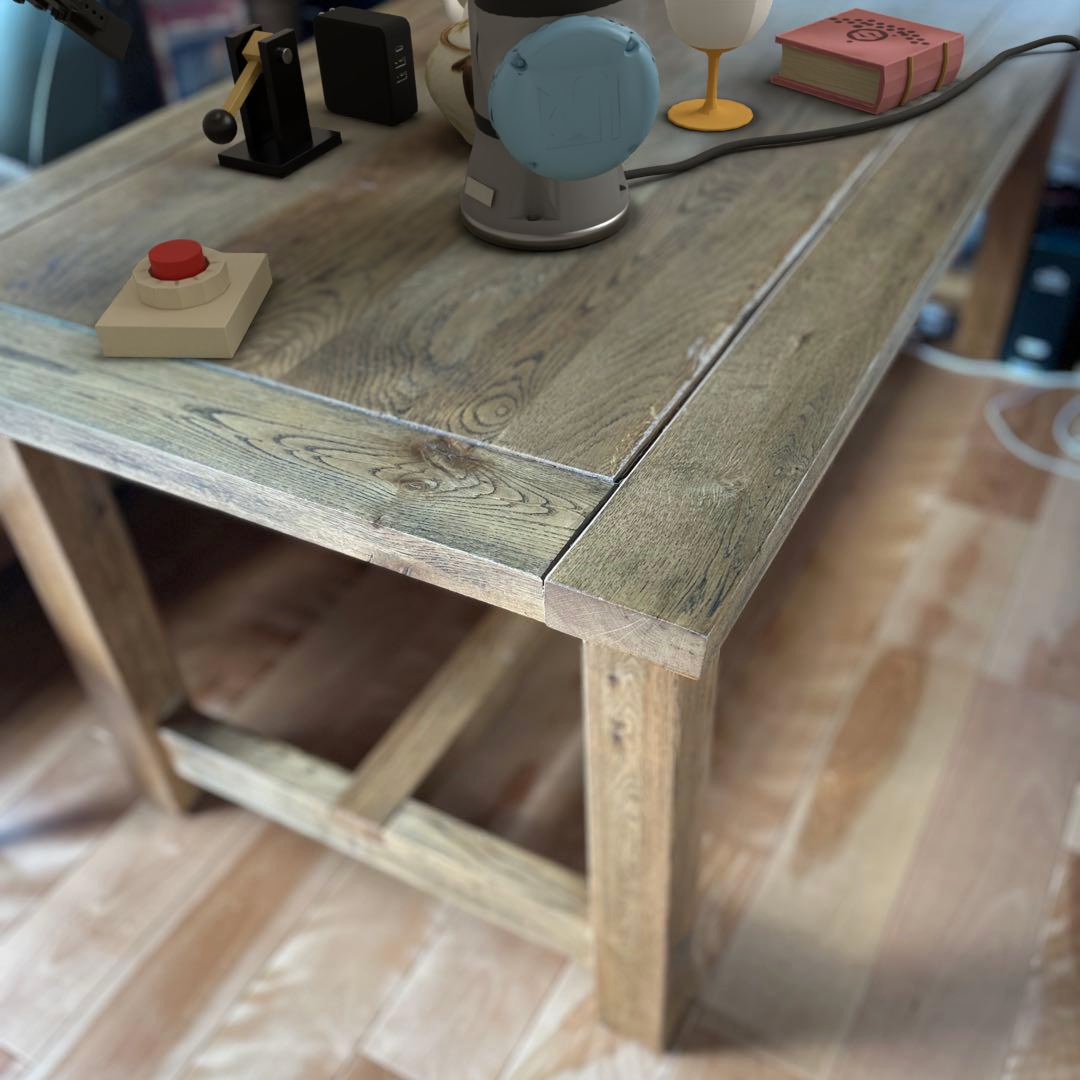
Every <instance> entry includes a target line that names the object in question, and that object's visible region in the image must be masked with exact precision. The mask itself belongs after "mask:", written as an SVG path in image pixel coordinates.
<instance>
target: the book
mask: <svg viewBox="0 0 1080 1080" xmlns="http://www.w3.org/2000/svg"><path fill="white" fill-rule="evenodd" d="M774 43H775V44H779V45H781V51H782V52H781V53H782V54H781V60H780V68H779V72H778V73H777V72H776V73H775V74H772V75H771V76H770V83H772V84H775V85H778V86H782V87H784V88H788V89H792V90H794V91H797V92H802V93H804V94H808V95H811V96H815V97H818V98H821V99H824V100H827V101H831V102H834V103H836V104H841V105H843V106H847V107H850V108H853V109H857V110H859V111H863V112H866V113H870V114H874V115H879V114H881V113H884V112H886V111H888V110H891V109H893V108H895V107H897V106H902V107H903V106H905V104H906V102H910V101H911V100H914V99H916V98H918V97H920V96H923V95H926V94H928V93H931V92H932V91H935V92H936V91H937V92H938V91H940V89H941V88H942V87H944V86H946V85H949V84H951V83H953V82H955V80H956V79H957V76H958V75H959V72H960V70H961V68H962V63H963V59H964V55H965V33H962V32H958V31H954V30H950V29H946V28H942V27H937V26H933V25H929V24H925V23H921V22H917V21H912V20H908V19H903V18H900V17H896V16H891V15H887V14H883V13H879V12H875V11H870V10H866V9H863V8H858V7H853V8H851V9H848V10H845V11H842V12H840V13H836V14H834V15H831V16H827V17H825V18H823V19H819V20H817V21H814V22H811V23H808V24H805V25H802V26H800V27H796V28H794V29H790V30H788V31H784V32H782V33H779V34H776V35H775V37H774Z"/></svg>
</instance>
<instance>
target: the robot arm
mask: <svg viewBox="0 0 1080 1080" xmlns="http://www.w3.org/2000/svg"><path fill="white" fill-rule="evenodd" d="M12 1H13V2H14V3H16V4H20V5H24V4H25V3H26V2H28V3H29V4H30V5H31V6H33V7H34V8H35V9H37V10H38V11H42V12H48V11H50V13H49V15H50V16H52V17H53V19H54V20H55V21H57V22H59V23H61V24H62V25H64V26H65V27H66V28H68V29H69V30H70V31H72V32H74V34H76V35H77V36H79V37H80V38H81V39H83V40H84V41H85V42H86V43H88V44H90V45H91V46H92V47H94V48H95V49H96V50H98V51H99V52H101V54H103V55H104V56H106V57H107V58H108V59H111V60H112V59H113V60H118V61H121V62H122V61H124V59H125V56H126V52H127V50H128V46H129V44H130V41H131V38H132V35H133V33H134V29H133V28H131V27H130V25H128V24H127V23H125V22H124V21H123V20H121V18H119V17H118V16H116V14H114V13H113V12H111V11H110V10H109V9H107V8H106V7H105V6H104V5H103V4H101V3H100V2H99V1H98V0H12ZM466 2H468V17H469V32H470V47H471V61H472V76H473V91H474V107H475V122H476V135H475V139H474V143H473V145H472V148H471V151H470V156H469V160H468V165H467V168H466V175H465V179H464V183H463V185H462V189H461V194H460V212H461V220H462V224H463V225H464V227H465V228H466V229H467V231H469V232H470V233H471V234H473V235H474V236H475V237H477V238H479V239H481V240H483V241H486V242H487V243H491V244H494V245H497V246H500V247H504V248H511V249H517V250H526V251H554V250H555V251H556V250H565V249H571V248H577V247H582V246H585V245H589V244H592V243H596V242H598V241H601V240H604V239H606V238H608V237H609V236H611V235H613V234H614V233H616V232H618V231H619V230H620V229H621V228H622V227H623V226H624V225H625V224H626V223H627V221H628V219H629V216H630V207H631V206H630V203H631V201H630V199H631V197H630V195H631V194H630V189H629V185H628V181H629V180H635V179H641V178H646V177H653V176H661V175H669V174H674V173H678V172H682V171H685V170H688V169H691V168H693V167H696V166H698V165H700V164H702V163H704V162H707V161H709V160H710V159H713V158H714V157H715V158H716V157H717V156H720V155H723V154H726V153H729V152H733V151H738V150H743V149H748V148H752V147H754V148H755V147H761V146H771V145H782V144H783V145H784V144H791V143H800V142H806V141H812V140H819V139H824V138H825V139H826V138H831V137H837V136H842V135H849V134H855V133H860V132H863V131H868V130H872V129H877V128H881V127H884V126H888V125H891V124H894V123H898V122H901V121H905V120H907V119H910V118H912V117H916V116H918V115H921V114H923V113H926V112H928V111H930V110H932V109H935V108H937V107H939V106H941V105H942V104H944V103H946V102H948V101H950V100H951V99H953V98H954V97H956V96H958V95H960V94H961V93H962V92H964V91H966V90H968V89H969V88H970V87H971V86H973V85H974V84H975V83H977V82H978V81H979V80H980V79H981V78H983V77H984V76H985V75H987V74H989V73H990V72H991V71H992V70H994V69H995V68H996V67H997V66H998V65H999V64H1000V63H1001V62H1003V61H1004V60H1006V59H1008V58H1010V57H1013V56H1016V55H1020V54H1023V53H1026V52H1029V51H1032V50H1034V49H1035V50H1036V49H1037V48H1041V47H1044V46H1047V45H1052V44H1068V45H1071V46H1072V47H1074V48H1075V49H1076V50H1077V51H1079V52H1080V39H1079V38H1078V37H1076V36H1074V35H1070V34H1056V35H1050V36H1046V37H1045V36H1044V37H1042V38H1039V39H1036V40H1033V41H1029V42H1027V43H1024V44H1021V45H1018V46H1014V47H1011V48H1008V49H1005V50H1003V51H1001V52H999V53H998V54H996V56H994V57H993V58H991V60H990V61H989V62H988V63H986V64H985V65H983V66H982V67H981V68H979V69H978V70H976V71H975V72H974V73H972V74H971V75H969V76H968V77H967V78H965V80H963V81H962V82H960V83H958V84H957V85H955V86H953V87H951V88H950V89H948V90H947V91H945V92H943V93H942V94H940V95H937V96H936V97H934V98H933V99H930V100H928V101H926V102H924V103H921V104H918V105H916V106H913V107H911V108H908V109H905V110H902V111H899V112H895V113H893V114H889V115H885V116H882V117H878V118H873V119H869V120H865V121H860V122H856V123H852V124H846V125H840V126H835V127H829V128H822V129H815V130H808V131H802V132H794V133H787V134H776V135H765V136H757V137H750V138H743V139H739V140H734V141H730V142H726V143H722V144H719V145H716V146H713V147H711V148H709V149H706V150H704V151H702V152H700V153H698V154H696V155H694V156H692V157H689V158H687V159H683V160H681V161H677V162H673V163H668V164H662V165H661V164H660V165H652V166H645V167H639V168H634V169H628V170H624V168H623V163H624V162H625V161H627V160H628V159H629V158H630V157H631V155H633V154H634V152H635V151H637V150H638V148H639V147H640V146H641V145H643V143H644V142H645V140H646V138H647V137H648V135H649V133H650V131H651V129H652V127H653V125H654V123H655V120H656V117H657V113H658V110H659V104H660V92H661V91H660V77H659V70H658V68H657V66H656V58H655V56H654V55H653V52H652V50H651V48H650V46H649V45H648V43H647V42H646V32H645V10H644V0H466Z"/></svg>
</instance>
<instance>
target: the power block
mask: <svg viewBox="0 0 1080 1080" xmlns="http://www.w3.org/2000/svg"><path fill="white" fill-rule="evenodd" d="M201 247H202V251H203V255H204V259H205V263H206V270H205V271H204V272H202V273H200V274H198V275H196V276H194V277H191V278H187V279H183V280H178V281H161V280H158V279H156V278H155V277H154V275H153V271H152V268H151V264H150V261H149V257H148V253H147V254H146V256H145V257H144V258H143V259H140V261H139V262H138V263H137V264H136V266H135V267H134V269H133V270H132V271H131V275H130V277H129V279H127V281H126V282H125V283H124V285H123V286H122V288H121V289H120V291H119V292H118V293H117V294H116V296H115V297H114V299H113V300H112V301H111V303H110V304H109V305H108V307H107V309H105V311H104V312H103V314H102V315H101V316H100V318H99V319H98V321H97V322H96V323H95V325H94V329H95V332H96V335H97V339H98V341H99V344H100V347H101V349H102V353H103V356H104V357H105V358H106V357H107V358H169V359H171V358H173V359H174V358H176V359H178V358H179V359H183V358H184V359H233V358H234V356H235V354H236V353H237V350H238V348H239V347H240V345H241V343H242V341H243V340H244V337H245V335H246V333H247V331H248V330H249V328H250V326H251V324H252V322H253V320H254V319H255V317H256V315H257V313H258V311H259V309H260V307H261V305H262V304H263V302H264V300H265V298H266V296H267V294H268V292H269V290H270V288H271V287H272V285H273V278H272V271H271V267H270V262H269V257H268V253H267V252H221V251H219V250H216V249H213V248H210V247H207V246H201Z"/></svg>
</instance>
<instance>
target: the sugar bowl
mask: <svg viewBox="0 0 1080 1080" xmlns="http://www.w3.org/2000/svg"><path fill="white" fill-rule="evenodd" d="M424 78H425V84H426V88H427V91H428V94H429V96H430V98H431V99H432V100H433V102H434V104H435V105H436V107H437V108H438V109H439V111H441V113H442V114H443V115H444V117H445V118H446V119H447V120H448V121H449V122H450V123H451V124H452V125H453V127H454V128H455V129H456V130H457V131H458V132H459V134H460V135H461V136H462V138H463V139H464V140H465V141H466V142H467V143H468V144H469V145H470V146H473V143H474V139H475V135H476V122H475V107H474V91H473V76H472V61H471V47H470V32H469V18H467V19H465V20H463V21H461V22H458V23H455V24H453V25H451V24H450V25H449V26H448V27H446V28H445V29H444V30H443V31H442V32H441V34H440V37H439V38H438V39H437V40H436V42H435V43H434V44H433V46H432V48H431V49H430V51H429V54H428V56H427V58H426V62H425V67H424Z"/></svg>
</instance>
